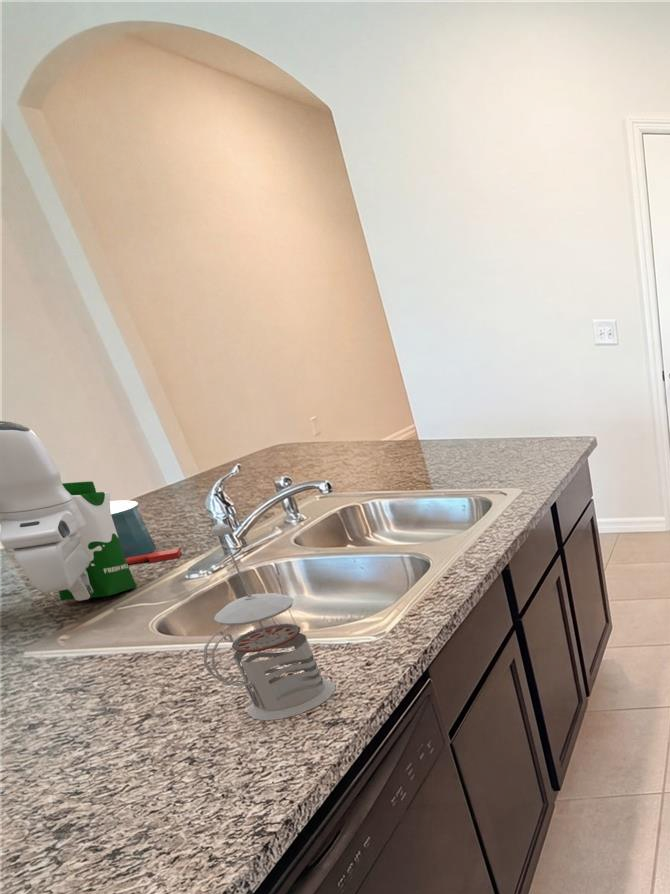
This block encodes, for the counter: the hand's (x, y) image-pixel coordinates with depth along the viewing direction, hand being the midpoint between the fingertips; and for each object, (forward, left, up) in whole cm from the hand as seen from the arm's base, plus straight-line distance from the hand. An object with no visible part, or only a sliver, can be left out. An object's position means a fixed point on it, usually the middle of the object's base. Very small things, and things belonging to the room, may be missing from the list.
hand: (85, 597), depth 113 cm
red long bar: (+2, +25, -3) cm, 26 cm away
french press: (+28, -55, -3) cm, 62 cm away
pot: (-2, +34, -3) cm, 34 cm away
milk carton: (0, +7, -2) cm, 7 cm away
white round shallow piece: (-2, +34, +7) cm, 35 cm away
